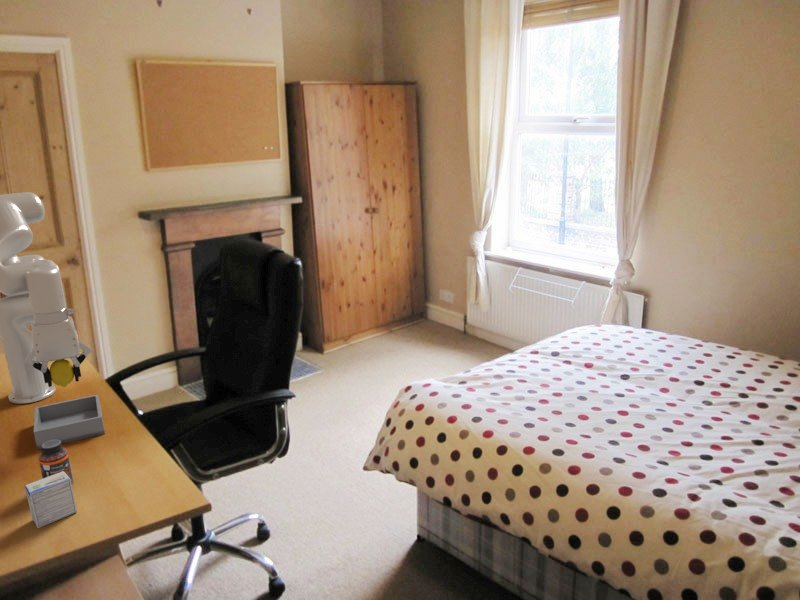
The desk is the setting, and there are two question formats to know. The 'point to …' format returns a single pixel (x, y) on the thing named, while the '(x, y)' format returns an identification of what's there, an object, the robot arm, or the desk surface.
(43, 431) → the tote
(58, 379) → the lemon
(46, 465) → the supplement bottle
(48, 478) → the medicine box
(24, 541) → the desk surface
